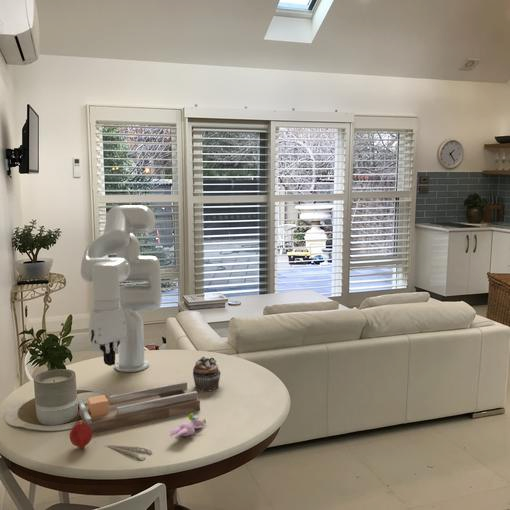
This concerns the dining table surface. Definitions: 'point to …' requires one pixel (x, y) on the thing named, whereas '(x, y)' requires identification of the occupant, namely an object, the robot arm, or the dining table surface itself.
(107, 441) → the dining table surface
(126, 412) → the trap tube
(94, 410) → the block
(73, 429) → the onion
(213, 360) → the cupcake
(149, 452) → the tweezers
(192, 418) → the pink plastic figure
